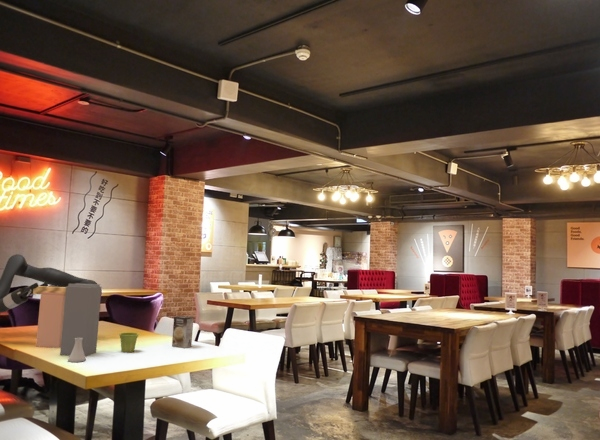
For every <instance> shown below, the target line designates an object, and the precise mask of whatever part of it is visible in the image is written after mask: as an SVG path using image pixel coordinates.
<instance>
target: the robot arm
mask: <svg viewBox="0 0 600 440" xmlns="http://www.w3.org/2000/svg"><path fill="white" fill-rule="evenodd" d="M15 276H19V277H22V278H27V279H31V280H35V281H37V282H35V283H33V284H31V285H28V286H24V287H22V288H20V287H19V288H17V289H16V290H13V291H12V292H10V291H11V287H12V283H13V281H14V278H15ZM38 282H41V283H42V284H39V283H38ZM75 283H81V284H98V282H97V281H95V280H93V279H89V278H87V279H86V278H82V277H78V276H76V275H72V274H70V273H68V272H65V271H63V270H60V269H57V268H53V267H37V266H34V265H31V264H29V263H27V260H26V258H25V256H24V255H22V254H18V253H16V254H13V255H11V256H10V257H9V258H8V260H7V262H6V263H5V266H4V269H3V272H2V274H1V277H0V314H1V313H6V312H7V311H10V310H12V309H14V308H16V307H18V306H20V305H21V304H24V303H26V302H27V301H28V300H29V296H33V295H36V294H33V289H35V288H37V287H38V286H49V285H50V286H51V287H66V286H68V284H75Z"/></svg>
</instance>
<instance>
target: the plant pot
mask: <svg viewBox="0 0 600 440" xmlns="http://www.w3.org/2000/svg"><path fill="white" fill-rule="evenodd" d="M139 336H140V333H138V332H120V333H119V338H120V349H121V352H123V353H131V352H135V348H136V344H137V339H138V337H139Z"/></svg>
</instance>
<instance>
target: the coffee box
mask: <svg viewBox="0 0 600 440" xmlns="http://www.w3.org/2000/svg"><path fill="white" fill-rule="evenodd" d="M172 326H173V327H172V340H171V341H172V342H171V347H175V348H182V349H187V348H192V343H193V328H194V317H193V316H184V315H177V316H173V325H172Z"/></svg>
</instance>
